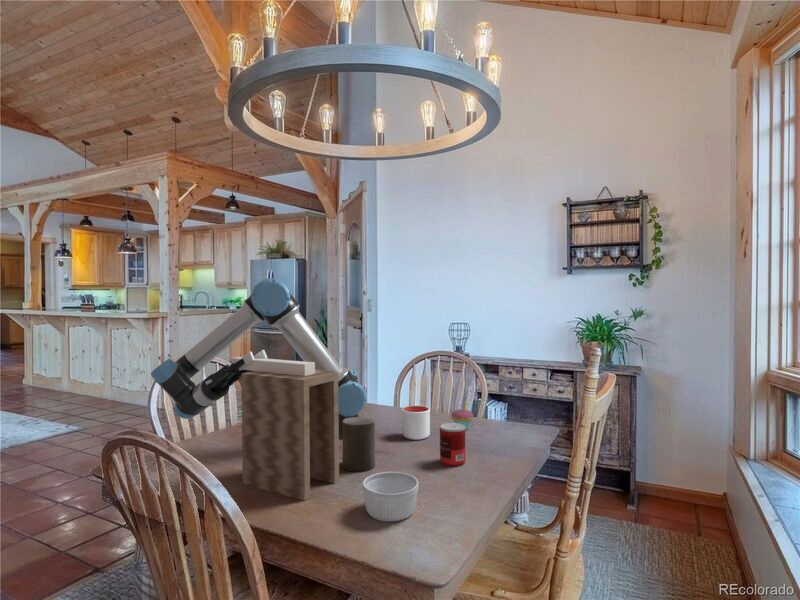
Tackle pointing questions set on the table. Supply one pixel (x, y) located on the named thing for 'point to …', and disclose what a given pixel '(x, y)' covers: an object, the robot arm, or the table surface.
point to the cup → (416, 422)
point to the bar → (280, 366)
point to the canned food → (452, 444)
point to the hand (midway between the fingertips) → (258, 355)
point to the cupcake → (462, 416)
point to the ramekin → (390, 495)
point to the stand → (290, 431)
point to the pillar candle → (358, 444)
